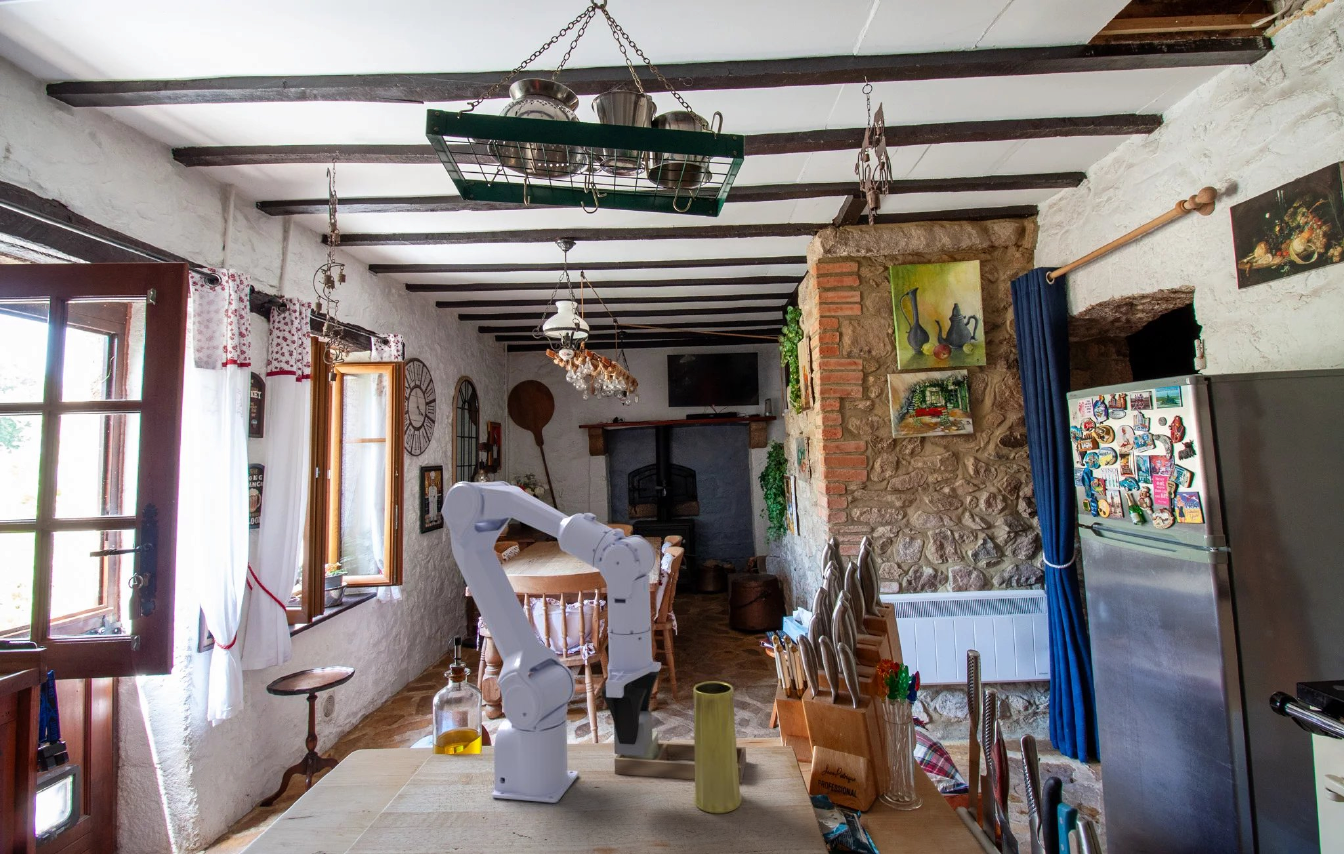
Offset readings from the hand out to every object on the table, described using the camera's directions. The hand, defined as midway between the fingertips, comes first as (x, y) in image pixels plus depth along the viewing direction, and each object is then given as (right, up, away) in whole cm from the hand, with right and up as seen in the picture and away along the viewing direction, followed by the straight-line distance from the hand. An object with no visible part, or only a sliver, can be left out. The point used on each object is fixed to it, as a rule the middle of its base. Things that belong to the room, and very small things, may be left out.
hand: (632, 735), depth 80 cm
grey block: (0, -2, 0) cm, 2 cm away
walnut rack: (+7, -9, +9) cm, 14 cm away
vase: (+11, -8, -1) cm, 14 cm away
